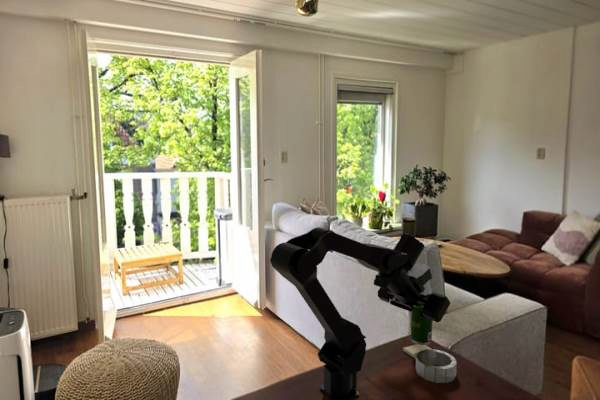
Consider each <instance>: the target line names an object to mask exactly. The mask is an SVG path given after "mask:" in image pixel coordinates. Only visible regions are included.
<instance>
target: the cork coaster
mask: <svg viewBox="0 0 600 400" xmlns="http://www.w3.org/2000/svg"><path fill="white" fill-rule="evenodd" d="M426 349H432V348H431V347H429V346H428V345H419V344H412V345H410V346H409V345H408V346H405V347H402V352H404V353H406V354H407V355H408V356H409V357H411V358H412V359H414V360H416V355H417V353H418V352H420V351H422V350H426Z"/></svg>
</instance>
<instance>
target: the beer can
mask: <svg viewBox="0 0 600 400" xmlns="http://www.w3.org/2000/svg"><path fill="white" fill-rule="evenodd" d="M420 294H423V295H428V294H429V293H424V292H421V293H420ZM426 300H427V299H426ZM422 309H423V307H422V304H419V303H418V306H417V307H415V306H413V307H412V308H411V312H410V314H411V315H410V331H409V332H410V334H409V335H410V336H409V337H410V340H411V342H412V343H414V345H416V344H419V345H426V346H428V345H430V343H431V342H432V339H433V323H434V321H432V320H430V319H426V318H424V317H421V316H419V315H420V313H421V312H422Z"/></svg>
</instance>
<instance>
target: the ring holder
mask: <svg viewBox="0 0 600 400" xmlns="http://www.w3.org/2000/svg"><path fill="white" fill-rule="evenodd" d="M457 362H458V361H457V359H456V358H455V357H454V355H452V354H451V353H448V352H446V351H443V350H439V349H432V348H431V349H426V350H422V351H420V352H418V353H417V355H416V359H415V371H416V374H417V375H418V376H419V377H421V378H422V379H423V380H426V381H429V382H432V383H436V384H447V383H450V382H453V381H455V379H456V377H457V367H458V366H457V365H458V364H457Z"/></svg>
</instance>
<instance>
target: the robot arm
mask: <svg viewBox="0 0 600 400" xmlns="http://www.w3.org/2000/svg"><path fill="white" fill-rule="evenodd" d="M425 248H426V247H425V244H424V243H423V242H422V241H420V240H418V239H417V238H415V237H414V236H412V235H411V234H410V233H406V232H403V233H402V234H401V236H400V238H399V240H398V241H397V243H396V244H395V246H394V248H389V247H384V246H382V245H377V244H374V243H373V244H372V243H367V242H366V243H362V242H360V241H357V240H355V239H353V238H352V239H351V238H350V237H346V236H345V235H341V234H338V233H337V232H335V231H333V230H331V229H327V228H324V227H319V226H318V227H314V228H312V229H311V230H309V231H308V232H306V233H303V234H300V235H298V236H295V237H293V238H290V239H288V240H287V241H286V242H281V243H279V244H277V245H276V246H275V248H273V250H272V252H271V257H270V260H269V261H270V263H271V266H272V268H273V269H274V270H276V272H277V273H278V274H280V275H281V276H282V277H283V278H284V279H285V280H286V281H288V282H289V283H290V284H292V285H293V286H295V287H294V288H296V289H297V291H298V292H299V294H300V295H301V297H302V298H303V300H304V301H305V303H306V304H307V306H308V307H309V309H310V310H311V312H312V313H313V315H314V316H315V318H316V319H317V321H318V322H319V324H320V325H321V327H322V329H324V335H323V336H324V337H323V338H324V340H325V342H324V343H323V345H322V346H321V348H320V349H319V351H318V353H317V357H318V359H319V362H321V363H323V365H324V366H323V384H321V385H320V390H322V392H323V393H324V394H325V395H326V397H328V398H329V399H330V400H349V399H352V398H356V397H359V396H360V393H359V391H358V390H357V386H358V373H359V372H360V371H361V370H362V368H363V367H362V366H363V363H364V359H365V355H366V353H367V352H366V351H367V342H366V340H365V339H367V336H365V334H363V332H362V329H361V327H360V326H359V325H358V324H356V323H354V322H352V321H350V320H348V319H346V318H345V317H342V316H341V314H340V312H339V311H338V309H337V307H336V306H335V304H334V303H333V301H332V299H331V298H330V297H329V295H328V293H327V292H326V290H325V288H324V287H323V285H322V284H321V283H320V280H319V278H318V265H320V264H322V262H323V261H324V259H325V257H326V255H327V254H328V252H330V251H332V252H335V253H337V254H340V255H343V256H345V257H350V258H352V259H354V260H356V261H357V262H358V263H359V264H360V265H362V266H363V267H365V268H367V269H369V270H373V271H376V272H378V273H377V274H376V275H375V278H374V280H373V285H374V286H376V287H379V288H378V290H377V297H378V298H379V300H381V301H382V302H385V303H389V304H390V305H391V306H394V307H397V308H399V309H401V310H402V309H403V310H405V311H408V312H410V313H411V308H412V307H413V306H415V307H417V306H418V303H419V304H422V307H423V309H422V312H421V313H420V315H419V316H421V317H424V318H426V319H430V320H432V321H433V322H434V323H439V322H441V321H442V319H443V317H444V316H445V314H446V312H447V310H448V309H449V306H450V305H451V301H450V299H449V297H448V296H446V295H443V294H440V293H436V292H431V293H427V294H428V295H423V294H420V293H424V291H425V290H426V287H425V285H426V284H427V283H428V282H429V281H430V280H432V279H433V274H432V272H431V267H430V266H429V265H427V264H423V263H418V262H417V261H418V260H419V258H420V256H421V254H422V253H423V251H424V250H425ZM426 299H427V300H426Z"/></svg>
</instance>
